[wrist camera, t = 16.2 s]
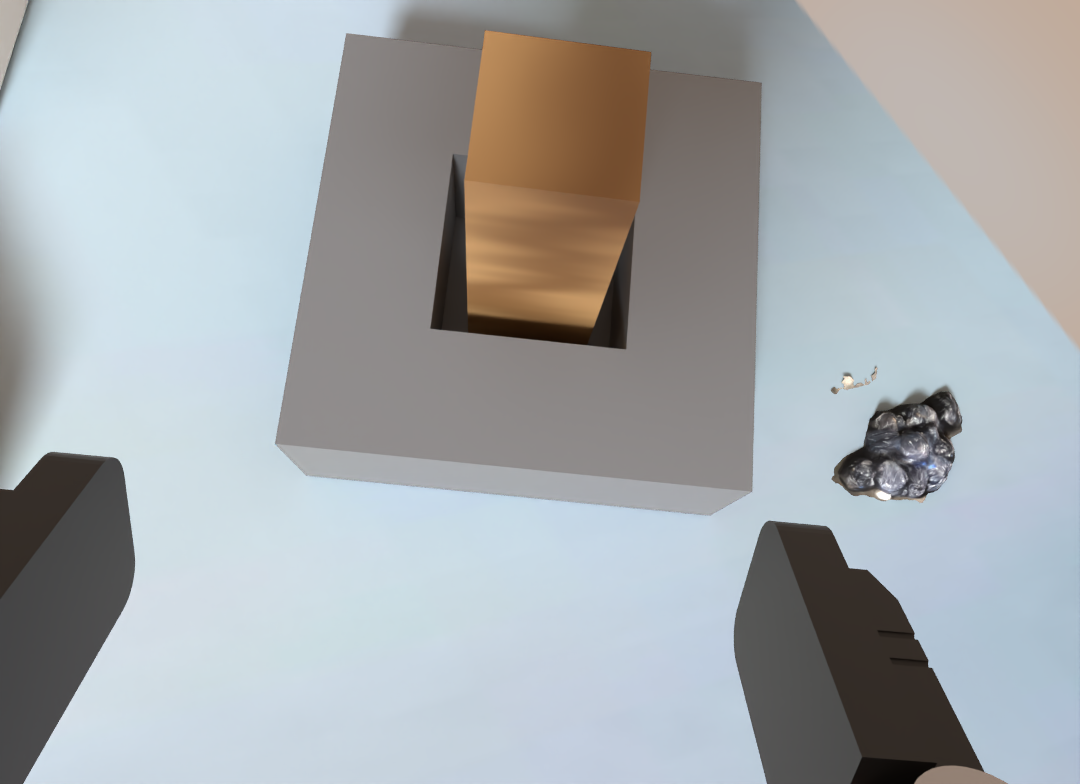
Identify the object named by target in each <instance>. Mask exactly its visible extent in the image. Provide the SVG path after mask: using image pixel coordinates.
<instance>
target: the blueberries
mask: <svg viewBox="0 0 1080 784" xmlns="http://www.w3.org/2000/svg"><path fill="white" fill-rule="evenodd" d="M877 369H878V368H877V367H876V368H875V374H873V375H872V376H871V377H872V381H873V380H874V379H875V378H876V374H877ZM843 377H844V378H845V379H844V380H843V381H842V383H843V384H844V388H842V389H846V390H848V389H851V388H856V387H859V386H863V384H862V383H858V384H857V385H856V386H854V385H853V381H854V380H853V379H852V377H850V376H843ZM869 383H870V381H869ZM869 383H868V382H867V381H866V379H865V385H868V384H869ZM840 389H841V388H840ZM840 389H839V388H838V389H836V388H833V389H832V390H831V391H832V392H833V393H834V394H837V393H838V391H839V390H840ZM961 424H962V416H961V414H960V411H959V407H958V405H957V403H956V401H955V399H954V398H953V396H952V395H951V394H950V393H949V392H940V393H937V394H935V395H933V396H931V397H929V398H927V399H926V400H925V401H924V402H922V403H920V404H906V405H900V406H897V407H895V408H893V409H890V410H887V411H877V412H875V414H874V415H873V417H872V418H870V421H869V424H868V429H867V432H866V437H865V440H864V447H863V448H861V449H859V450H857V451H855V452H854V453H851V454H850V455H847V456H846V457H844V458H843V459H842V460H841V461H840V462H839V463H838V465H837V466H836V467H835V469H834V476H833V477H832V480H833V481H834V482H835V483H839V484H840V485H841V486H843V488H844V489H845V490H847V491H848V492H849V493H850V494H851V495H853V496H859V495H867V496H869V497H874V498H876V499H878V500H881V501H886V500H890V499H893V500H902V499H908V500H917V501H918V502H920V503H922V502H923V501H924V500H925V498H926V495H927V494H928V493H931V492H934V491H936V490H938V489H939V488H940V487H941V485H942V484H943V483H944V482H945V481H946V479H947V476H948V472H949V471H950V469H951V467H952V463H953V461H954V458H955V453H954V448H953V445H952V443H951V441H950V439H951V437H953V436H955V435H957V434H958V433H960V432H962V427H961Z"/></svg>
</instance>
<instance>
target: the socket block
mask: <svg viewBox="0 0 1080 784" xmlns="http://www.w3.org/2000/svg"><path fill="white" fill-rule="evenodd" d="M481 56H482V49H474V48H465V47H457V46H448V45H440V44H432V43H423V42H415V41H406V40H398V39H390V38H381V37H373V36H365V35H356V34H348V33H346V38H345V44H344V50H343V56H342V61H341V67H340V73H339V79H338V84H337V90H336V96H335V102H334V107H333V113H332V119H331V125H330V130H329V136H328V142H327V148H326V153H325V159H324V165H323V171H322V177H321V182H320V188H319V194H318V200H317V205H316V211H315V217H314V223H313V228H312V234H311V240H310V246H309V251H308V257H307V263H306V269H305V274H304V280H303V286H302V292H301V297H300V303H299V309H298V315H297V320H296V326H295V332H294V338H293V343H292V349H291V355H290V361H289V366H288V372H287V378H286V384H285V389H284V395H283V401H282V407H281V412H280V418H279V424H278V430H277V436H276V441H275V444H276V445H277V446H278V447H279V449H280V450H281V451H282V452H283V453H284V454H285V455H286V456H287V457H288V458H289V459H290V460H291V461H292V462H293V463H294V464H295V465H296V466H297V467H298V468H299V469H300V470H301V471H302V472H303V473H304V474H305V475H306V476H315V477H326V478H336V479H346V480H356V481H366V482H376V483H386V484H396V485H406V486H417V487H427V488H437V489H447V490H457V491H467V492H477V493H487V494H498V495H508V496H518V497H528V498H538V499H548V500H558V501H568V502H578V503H589V504H599V505H609V506H619V507H629V508H639V509H649V510H659V511H669V512H680V513H690V514H700V515H712V514H714V513H715V512H717V511H719V510H721V509H722V508H724V507H726V506H728V505H730V504H731V503H733V502H735V501H737V500H738V499H740V498H742V497H744V496H746V495H747V494H749V493H751V492H752V477H753V434H754V390H755V347H756V303H757V260H758V217H759V173H760V130H761V86H762V83H759V82H750V81H742V80H733V79H725V78H717V77H708V76H700V75H692V74H683V73H675V72H666V71H658V70H650V75H649V88H648V101H647V114H646V127H645V140H644V153H643V166H642V179H641V192H640V203H639V205H638V208H637V211H636V213H635V216H634V219H633V222H632V224H631V227H630V230H629V232H628V235H627V238H626V241H625V243H624V246H623V249H622V252H621V254H620V257H619V260H618V262H617V265H616V268H615V271H614V273H613V276H612V279H611V281H610V284H609V287H608V290H607V292H606V295H605V298H604V300H603V303H602V306H601V309H600V311H599V314H598V317H597V319H596V322H595V325H594V328H593V330H592V333H591V336H590V338H589V341H588V344H587V345H578V344H569V343H559V342H550V341H540V340H531V339H522V338H512V337H503V336H493V335H484V334H475V333H468V309H467V269H466V229H465V188H464V179H465V171H466V164H467V157H468V150H469V143H470V135H471V128H472V121H473V114H474V106H475V99H476V92H477V85H478V77H479V70H480V63H481Z"/></svg>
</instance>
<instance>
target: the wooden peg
mask: <svg viewBox="0 0 1080 784" xmlns="http://www.w3.org/2000/svg"><path fill="white" fill-rule="evenodd" d="M650 62H651V52H647V51H639V50H632V49H624V48H616V47H609V46H601V45H594V44H586V43H578V42H571V41H563V40H555V39H548V38H540V37H532V36H525V35H517V34H509V33H502V32H494V31H486V30H485V34H484V41H483V48H482V56H481V63H480V70H479V77H478V85H477V92H476V99H475V106H474V114H473V121H472V128H471V135H470V143H469V150H468V157H467V164H466V171H465V179H464V188H465V229H466V269H467V309H468V333H475V334H484V335H493V336H503V337H512V338H522V339H531V340H540V341H550V342H559V343H569V344H578V345H587V344H588V341H589V338H590V336H591V333H592V330H593V328H594V325H595V322H596V319H597V317H598V314H599V311H600V309H601V306H602V303H603V300H604V298H605V295H606V292H607V290H608V287H609V284H610V281H611V279H612V276H613V273H614V271H615V268H616V265H617V262H618V260H619V257H620V254H621V252H622V249H623V246H624V243H625V241H626V238H627V235H628V232H629V230H630V227H631V224H632V222H633V219H634V216H635V213H636V211H637V208H638V205H639V203H640V192H641V179H642V166H643V153H644V140H645V127H646V114H647V101H648V88H649V75H650Z"/></svg>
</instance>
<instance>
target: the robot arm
mask: <svg viewBox="0 0 1080 784" xmlns="http://www.w3.org/2000/svg"><path fill="white" fill-rule="evenodd" d="M134 571H135V554H134V546H133V538H132V531H131V523H130V515H129V508H128V500H127V493H126V485H125V477H124V472H123V468H122V465H121V463H120V462H119V460H118V459H116V458H112V457H102V456H91V455H80V454H70V453H59V452H50V453H47V454H46V455H44V456H43V457H42V458H41V459H40V460H39V462H38V463H37V464H36V465H35V466H34V467H33V468H32V470H31V471H30V472H29V473H28V474H27V475H26V476H25V478H24V479H23V480H22V481H21V482H20V483H19V485H18V486H17V487H16V488H15V489H14V490H5V489H0V784H23V783H24V781H25V779H26V778H27V776H28V774H29V772H30V771H31V769H32V767H33V765H34V764H35V762H36V760H37V758H38V757H39V755H40V753H41V751H42V750H43V748H44V746H45V744H46V743H47V741H48V739H49V738H50V736H51V734H52V732H53V731H54V729H55V727H56V725H57V724H58V722H59V720H60V718H61V717H62V715H63V713H64V711H65V710H66V708H67V706H68V705H69V703H70V701H71V699H72V698H73V696H74V694H75V692H76V691H77V689H78V687H79V685H80V684H81V682H82V680H83V678H84V677H85V675H86V673H87V671H88V670H89V668H90V666H91V665H92V663H93V661H94V659H95V658H96V656H97V654H98V652H99V651H100V649H101V647H102V645H103V644H104V642H105V640H106V638H107V637H108V635H109V633H110V632H111V630H112V628H113V626H114V625H115V623H116V621H117V619H118V618H119V616H120V614H121V612H122V611H123V609H124V607H125V605H126V603H127V600H128V598H129V595H130V591H131V588H132V583H133V578H134ZM914 634H915V633H914V631H913V629H912V627H911V625H910V623H909V621H908V619H907V617H906V615H905V613H904V611H903V609H902V607H901V605H900V603H899V601H898V600H897V599H896V598H895V597H894V596H893V595H892V594H891V593H890V592H889V591H888V590H887V589H886V588H885V587H884V586H883V585H882V584H881V583H880V582H879V581H878V580H877V579H876V578H875V577H874V576H873V575H872V574H871V573H870V572H869V571H868V570H861V569H850V568H848V565H847V563H846V561H845V559H844V557H843V554H842V552H841V550H840V548H839V546H838V543H837V541H836V539H835V537H834V535H833V533H832V531H831V530H830V529H829V528H828V527H827V526H819V525H808V524H798V523H787V522H776V521H768V522H766V523H765V524H764V526H763V527H762V529H761V531H760V534H759V537H758V541H757V544H756V547H755V551H754V554H753V558H752V561H751V564H750V568H749V571H748V575H747V578H746V581H745V585H744V588H743V592H742V595H741V598H740V602H739V605H738V609H737V613H736V618H735V626H734V651H735V659H736V663H737V667H738V671H739V675H740V679H741V683H742V687H743V691H744V695H745V699H746V703H747V707H748V710H749V714H750V718H751V722H752V726H753V730H754V734H755V738H756V742H757V746H758V750H759V754H760V758H761V761H762V765H763V769H764V773H765V777H766V781H767V784H1007V783H1006V782H1004V781H1002V780H1000V779H998V778H996V777H994V776H992V775H990V774H987V773H985V772H984V770H983V768H982V766H981V764H980V762H979V760H978V758H977V756H976V754H975V752H974V750H973V748H972V746H971V744H970V742H969V740H968V738H967V736H966V734H965V732H964V730H963V728H962V726H961V724H960V722H959V720H958V718H957V716H956V714H955V712H954V710H953V708H952V706H951V705H950V703H949V701H948V699H947V697H946V695H945V693H944V691H943V689H942V687H941V685H940V683H939V681H938V679H937V677H936V675H935V673H934V671H933V669H932V668H929V667H928V659H927V657H926V655H925V653H924V651H923V649H922V647H921V645H920V643H919V641H918V640H915V639H914Z"/></svg>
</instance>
